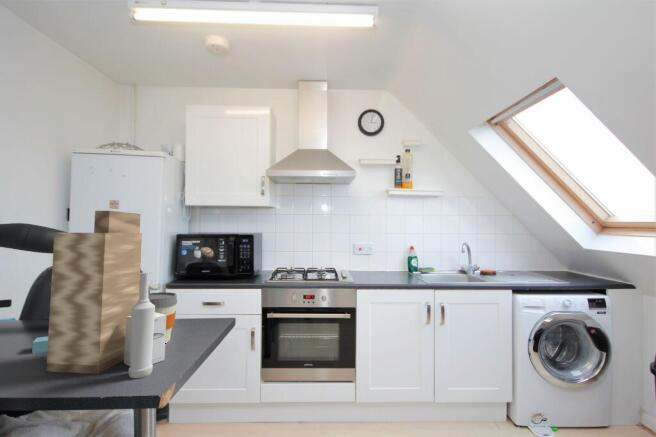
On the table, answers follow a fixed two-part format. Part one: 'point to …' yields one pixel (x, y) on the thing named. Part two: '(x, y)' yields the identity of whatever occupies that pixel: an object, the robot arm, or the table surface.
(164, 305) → the reusable coffee cup
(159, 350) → the supplement box
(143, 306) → the bottle
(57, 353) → the brown tall stepped block
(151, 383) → the table surface
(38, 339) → the long light blue beam
